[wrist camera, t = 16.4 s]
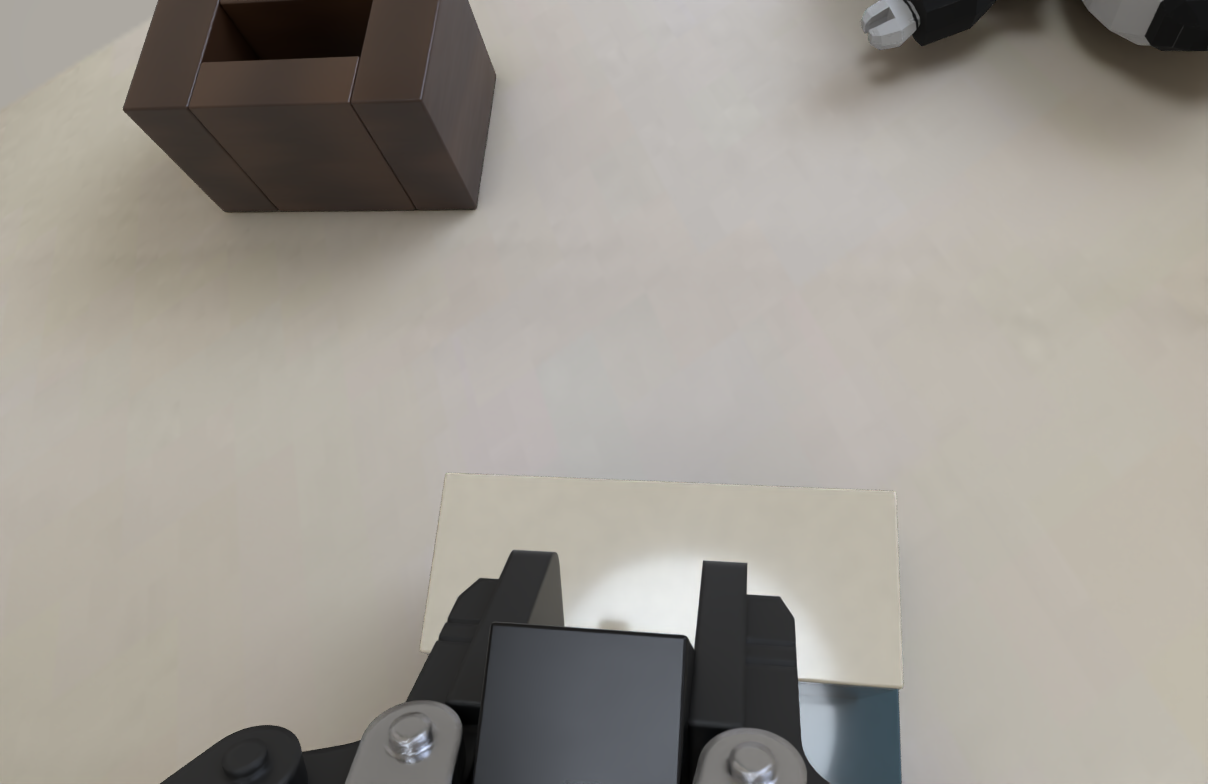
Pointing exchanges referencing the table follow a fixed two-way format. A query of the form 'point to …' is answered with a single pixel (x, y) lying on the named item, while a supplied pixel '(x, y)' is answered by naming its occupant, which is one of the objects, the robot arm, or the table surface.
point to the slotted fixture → (673, 577)
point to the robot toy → (1121, 3)
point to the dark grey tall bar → (583, 706)
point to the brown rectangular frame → (319, 101)
